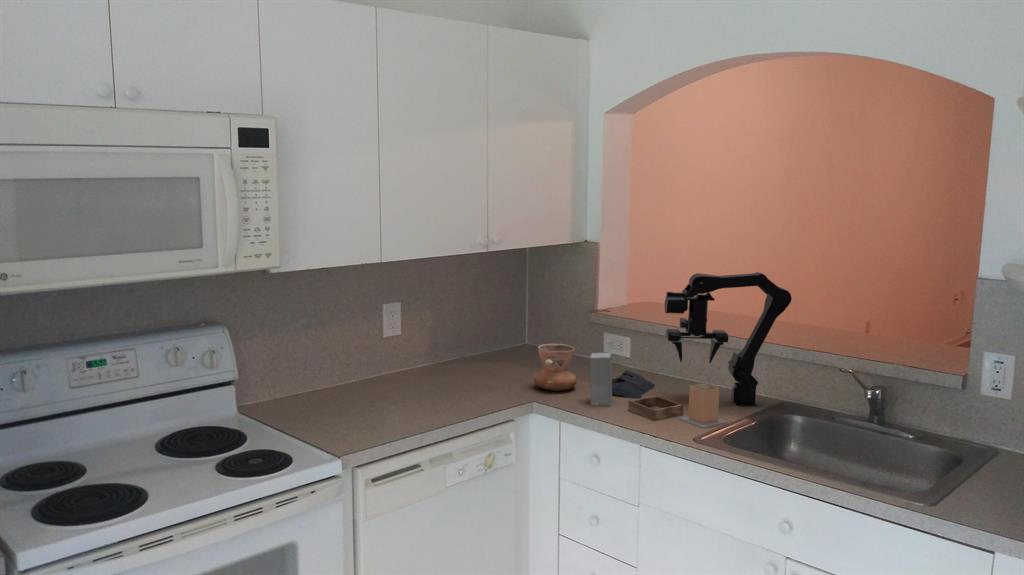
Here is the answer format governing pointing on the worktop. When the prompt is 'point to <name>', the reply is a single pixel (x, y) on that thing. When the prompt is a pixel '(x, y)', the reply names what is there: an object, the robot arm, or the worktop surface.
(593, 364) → the skincare box
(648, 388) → the dark slate chunk
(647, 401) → the brown wooden tray
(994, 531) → the worktop surface
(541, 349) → the brown clay vase
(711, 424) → the rubber mat
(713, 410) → the lidded terracotta box
